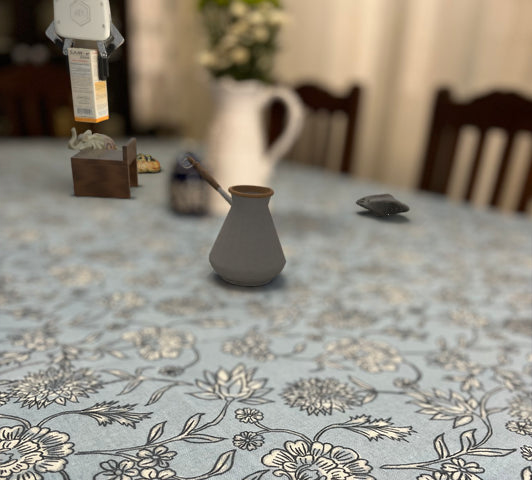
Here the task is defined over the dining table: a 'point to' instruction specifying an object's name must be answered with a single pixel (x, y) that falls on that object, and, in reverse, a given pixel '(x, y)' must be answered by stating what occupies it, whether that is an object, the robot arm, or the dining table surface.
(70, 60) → the supplement box
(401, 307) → the dining table surface
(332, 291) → the dining table surface
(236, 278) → the coffee pot
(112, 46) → the robot arm
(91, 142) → the figurine
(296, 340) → the dining table surface
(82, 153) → the dark wooden step block
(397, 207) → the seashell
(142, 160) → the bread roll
